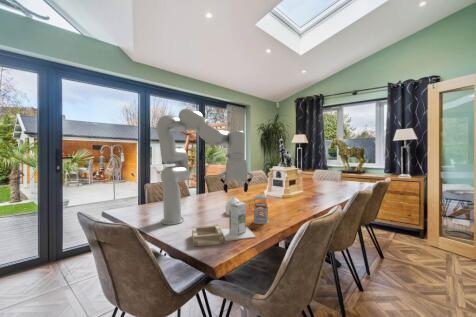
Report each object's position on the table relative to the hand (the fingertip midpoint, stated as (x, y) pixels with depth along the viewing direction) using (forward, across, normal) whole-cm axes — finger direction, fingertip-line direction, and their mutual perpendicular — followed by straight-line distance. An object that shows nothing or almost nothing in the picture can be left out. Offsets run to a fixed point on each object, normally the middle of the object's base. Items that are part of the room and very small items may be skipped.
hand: (235, 192), depth 114 cm
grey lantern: (+21, +18, +15) cm, 31 cm away
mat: (+20, +1, -1) cm, 20 cm away
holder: (+21, -14, -4) cm, 25 cm away
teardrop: (+21, +8, +36) cm, 43 cm away
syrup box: (+20, +1, -1) cm, 20 cm away
